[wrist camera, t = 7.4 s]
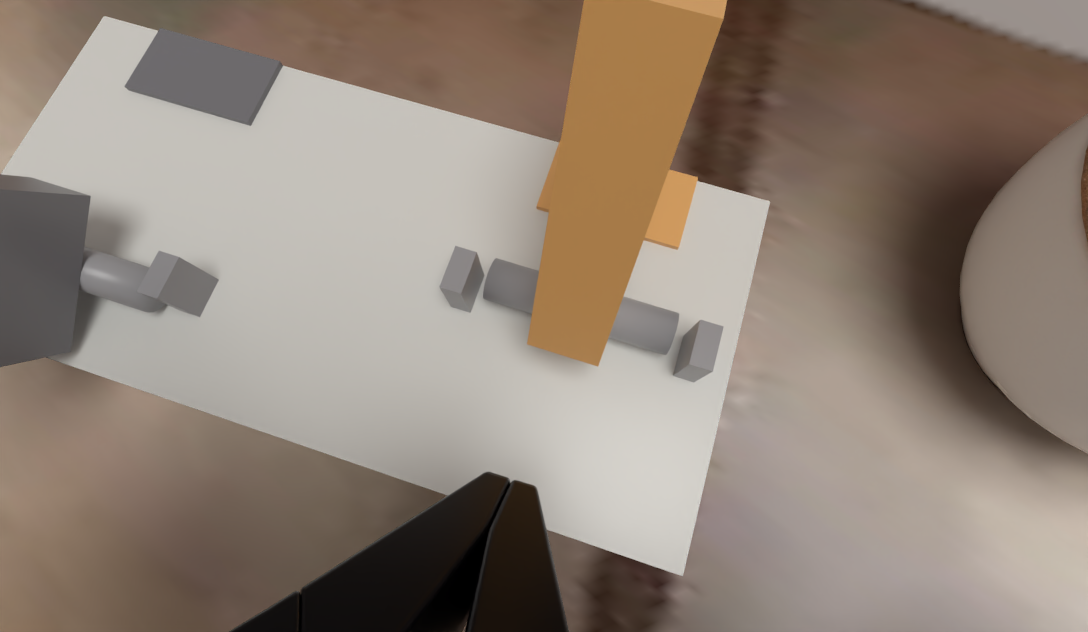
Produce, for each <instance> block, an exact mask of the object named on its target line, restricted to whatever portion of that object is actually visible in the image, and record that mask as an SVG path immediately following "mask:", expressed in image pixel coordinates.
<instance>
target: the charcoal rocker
mask: <svg viewBox="0 0 1088 632" xmlns="http://www.w3.org/2000/svg"><path fill="white" fill-rule="evenodd" d="M90 198H91V196H90V195H86V194H83V193H80V192H77V191H74V190H70V189H67V188H64V187H61V186H57V185H54V184H51V183H48V182H45V181H41V180H38V179H35V178H32V177H23V176H12V175H2V174H0V367H2V366H7V365H12V364H16V363H21V362H26V361H30V360H35V359H40V358H44V357H49V356H54V355H59V354H63V353H68V352H71V346H72V339H73V331H74V323H75V315H76V307H77V300H78V292H79V290H80V291H83V292H86V293H89V294H92V295H95V296H98V297H102V298H105V299H108V300H111V301H114V302H117V303H120V304H123V305H126V306H129V307H132V308H135V309H138V310H141V311H144V312H155V311H157V310H159V309H161V308H162V307H163V306H164V305H165V304H164V303H161V302H159V301H157V300H154V299H152V298H150V297H147V296H145V295H142V294H140V293H138V292H136V291H137V290H138V288H139V286H140V284H141V282H142V280H143V279H144V277H145V275H146V273H147V271H148V269H149V268H150V267H147V266H144V265H141V264H138V263H135V262H131V261H128V260H125V259H122V258H119V257H116V256H113V255H110V254H107V253H103V252H100V251H97V250H94V249H91V248H88V247H85V246H84V245H85V237H86V230H87V222H88V214H89V206H90Z"/></svg>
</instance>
